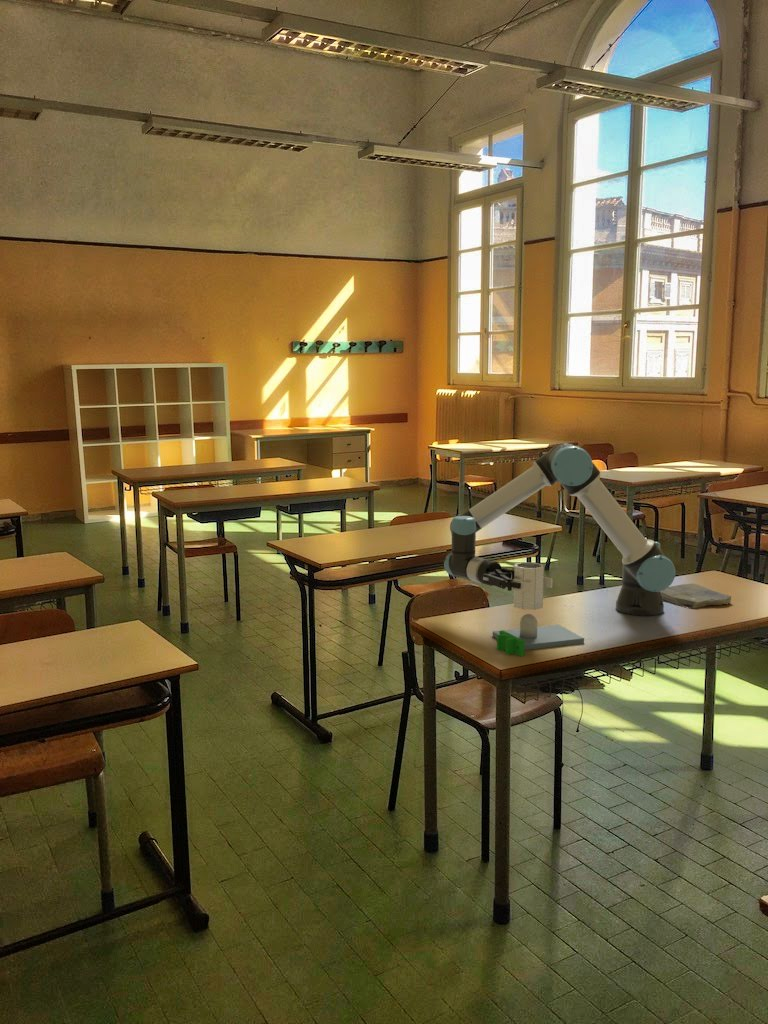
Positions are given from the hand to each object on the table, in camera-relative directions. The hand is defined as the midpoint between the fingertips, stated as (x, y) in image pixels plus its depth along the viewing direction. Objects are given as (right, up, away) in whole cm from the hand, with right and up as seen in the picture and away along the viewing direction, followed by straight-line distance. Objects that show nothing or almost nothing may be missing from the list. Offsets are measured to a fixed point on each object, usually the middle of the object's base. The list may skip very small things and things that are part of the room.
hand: (541, 585), depth 245 cm
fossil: (+61, -10, +49) cm, 79 cm away
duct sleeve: (-3, -6, +5) cm, 8 cm away
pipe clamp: (-10, -19, -3) cm, 21 cm away
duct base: (0, -17, +7) cm, 18 cm away
